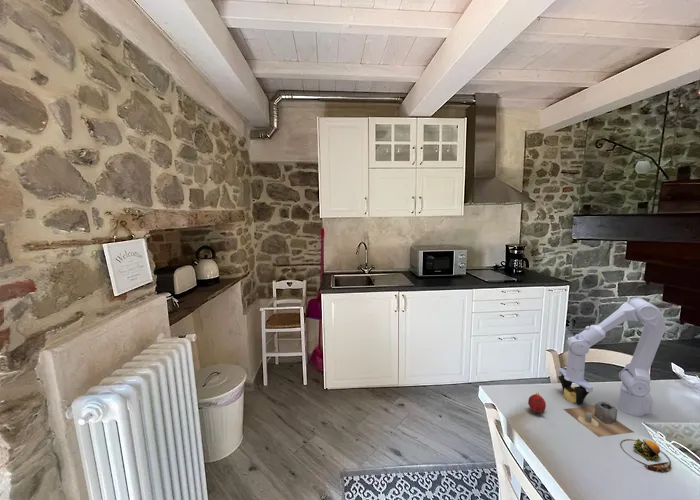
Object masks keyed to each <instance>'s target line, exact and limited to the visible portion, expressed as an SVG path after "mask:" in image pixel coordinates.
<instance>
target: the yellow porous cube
mask: <svg viewBox="0 0 700 500" xmlns="http://www.w3.org/2000/svg"><path fill="white" fill-rule="evenodd" d="M574 387H575V386H571V387H566V388H565V387H564V393H563V398H564V399H565V400H567V401H568V402H570V403H571V404H577V403H576V391H575V388H574Z"/></svg>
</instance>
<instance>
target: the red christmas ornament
mask: <svg viewBox="0 0 700 500" xmlns="http://www.w3.org/2000/svg"><path fill="white" fill-rule="evenodd" d="M527 403H528V406H529V408H530V409H531V410H532V411H533V412H534V413H535V414H536V413H542V412H544V410H546V407H547V404H546V400H545V399H544V398H543V397H542V396H541V395H540V393H539V392H536V393H535V394H532V395H530V396H529V398H528V402H527Z"/></svg>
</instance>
